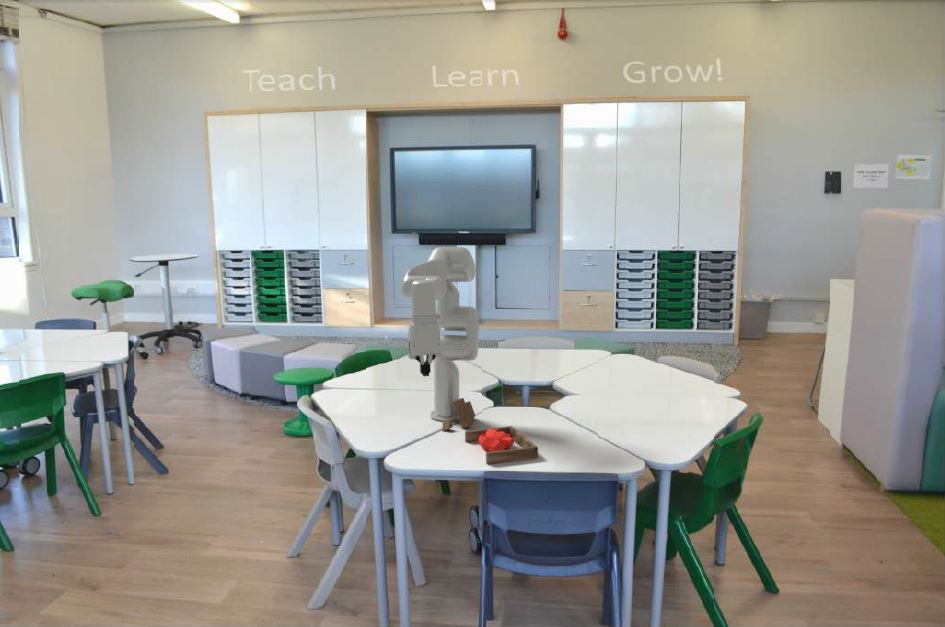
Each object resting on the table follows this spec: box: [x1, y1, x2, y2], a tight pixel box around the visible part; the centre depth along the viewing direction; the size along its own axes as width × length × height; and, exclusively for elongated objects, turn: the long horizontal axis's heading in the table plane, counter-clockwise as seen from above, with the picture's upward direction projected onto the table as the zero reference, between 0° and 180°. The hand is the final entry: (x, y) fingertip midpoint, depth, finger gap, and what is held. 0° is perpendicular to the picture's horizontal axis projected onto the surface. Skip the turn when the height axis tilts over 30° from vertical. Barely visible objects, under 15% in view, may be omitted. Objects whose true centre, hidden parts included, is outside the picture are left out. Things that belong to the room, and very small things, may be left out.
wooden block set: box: [441, 397, 476, 432], centre depth 256 cm, size 18×9×10 cm, turn 153°
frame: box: [464, 425, 539, 465], centre depth 231 cm, size 22×17×4 cm
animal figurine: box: [478, 428, 515, 452], centre depth 231 cm, size 12×15×5 cm
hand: (425, 375), depth 223 cm, fingers closed
